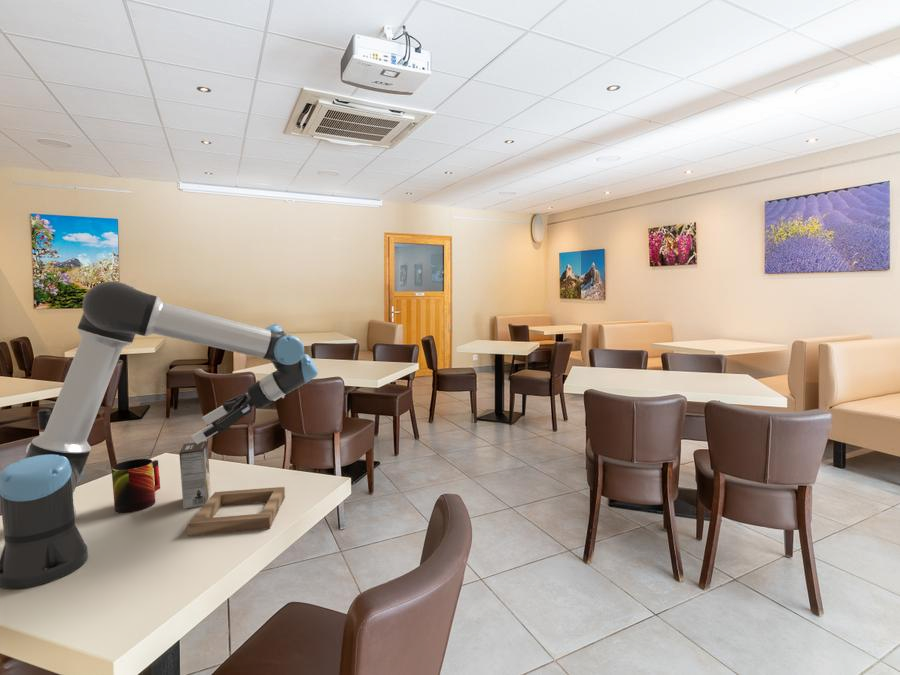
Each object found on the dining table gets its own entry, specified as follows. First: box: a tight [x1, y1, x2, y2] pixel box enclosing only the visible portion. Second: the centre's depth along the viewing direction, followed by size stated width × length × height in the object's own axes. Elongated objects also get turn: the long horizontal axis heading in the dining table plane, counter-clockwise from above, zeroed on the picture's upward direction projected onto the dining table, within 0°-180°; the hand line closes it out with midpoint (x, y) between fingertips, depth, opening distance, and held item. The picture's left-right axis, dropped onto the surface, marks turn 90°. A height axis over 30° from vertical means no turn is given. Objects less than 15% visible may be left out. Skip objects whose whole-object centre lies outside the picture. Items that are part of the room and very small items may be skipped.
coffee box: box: [178, 440, 212, 510], centre depth 139 cm, size 9×6×16 cm
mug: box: [110, 458, 161, 514], centre depth 139 cm, size 10×14×12 cm
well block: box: [187, 486, 286, 536], centre depth 130 cm, size 20×19×3 cm
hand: (199, 430), depth 140 cm, fingers open, 13 cm apart
